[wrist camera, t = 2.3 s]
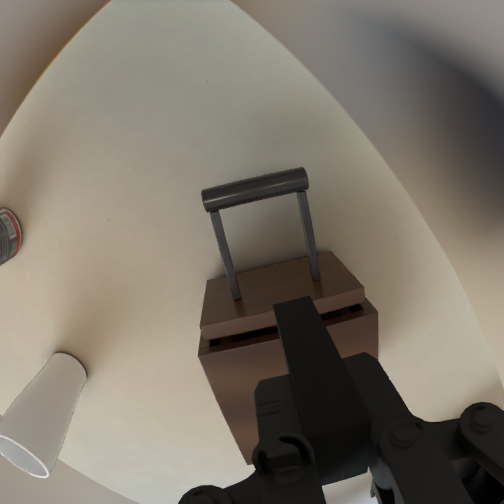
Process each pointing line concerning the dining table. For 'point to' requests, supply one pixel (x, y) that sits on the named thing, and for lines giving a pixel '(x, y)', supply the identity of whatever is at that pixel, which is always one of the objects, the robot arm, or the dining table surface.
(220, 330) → the drawer
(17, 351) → the dining table surface
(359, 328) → the cabinet
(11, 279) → the dining table surface
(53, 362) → the drinking glass
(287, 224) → the dining table surface
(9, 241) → the pill bottle
